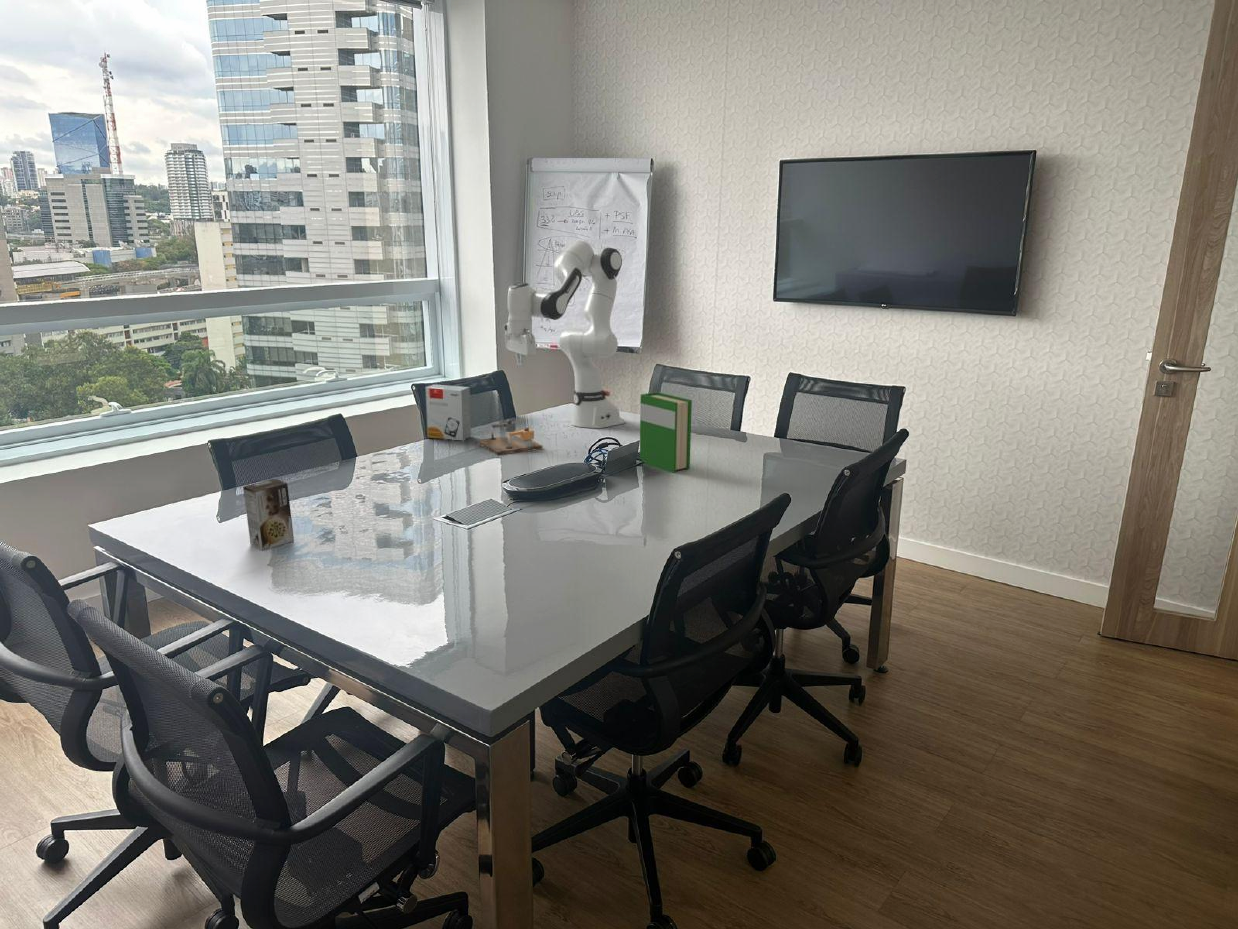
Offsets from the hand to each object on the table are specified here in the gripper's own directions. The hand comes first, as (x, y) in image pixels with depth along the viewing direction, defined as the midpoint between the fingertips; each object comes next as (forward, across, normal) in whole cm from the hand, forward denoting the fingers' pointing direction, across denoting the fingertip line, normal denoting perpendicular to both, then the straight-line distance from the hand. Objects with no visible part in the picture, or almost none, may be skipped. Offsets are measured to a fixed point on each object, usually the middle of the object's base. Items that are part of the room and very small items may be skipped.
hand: (521, 364), depth 324 cm
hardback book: (+29, -56, -28) cm, 69 cm away
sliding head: (+27, -12, +7) cm, 31 cm away
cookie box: (+29, -68, +102) cm, 126 cm away
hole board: (+29, -5, +8) cm, 31 cm away
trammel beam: (+28, -5, +7) cm, 29 cm away
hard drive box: (+29, +18, +23) cm, 41 cm away
